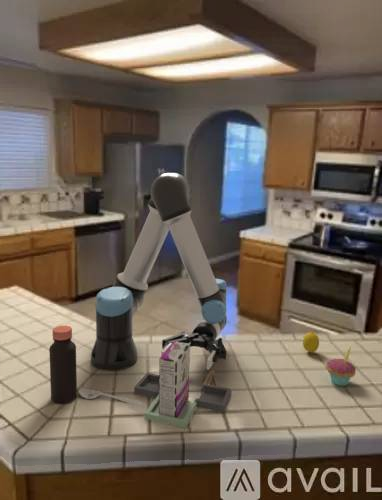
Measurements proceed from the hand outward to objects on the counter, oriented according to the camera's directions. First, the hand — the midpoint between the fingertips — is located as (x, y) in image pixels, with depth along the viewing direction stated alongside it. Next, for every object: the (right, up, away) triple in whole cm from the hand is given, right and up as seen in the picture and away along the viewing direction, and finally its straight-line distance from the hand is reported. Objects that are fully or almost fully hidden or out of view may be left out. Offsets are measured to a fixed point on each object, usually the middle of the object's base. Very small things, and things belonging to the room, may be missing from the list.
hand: (184, 360), depth 112 cm
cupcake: (+48, -10, +11) cm, 50 cm away
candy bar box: (-3, -11, -6) cm, 13 cm away
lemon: (+44, -6, +30) cm, 54 cm away
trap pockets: (-1, -10, +1) cm, 10 cm away
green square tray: (-3, -11, -7) cm, 14 cm away
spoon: (-20, -11, -3) cm, 22 cm away
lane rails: (+2, -8, +9) cm, 13 cm away
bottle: (-33, -10, -3) cm, 35 cm away
